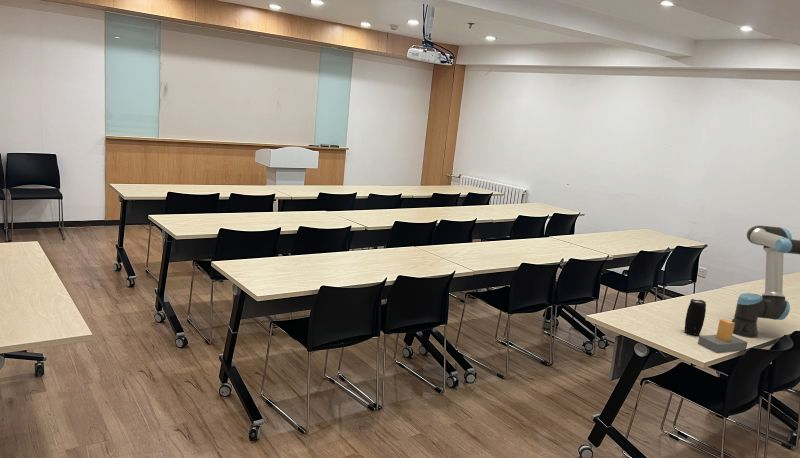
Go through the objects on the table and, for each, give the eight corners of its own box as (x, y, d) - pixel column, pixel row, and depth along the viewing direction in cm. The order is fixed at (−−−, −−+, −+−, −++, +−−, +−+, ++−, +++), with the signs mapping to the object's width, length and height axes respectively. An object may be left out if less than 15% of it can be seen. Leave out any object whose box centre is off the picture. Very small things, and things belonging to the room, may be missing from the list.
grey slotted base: (697, 343, 321) (699, 335, 320) (726, 341, 329) (728, 333, 329) (716, 352, 310) (718, 344, 309) (745, 350, 319) (747, 342, 318)
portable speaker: (699, 337, 331) (705, 304, 327) (681, 332, 336) (687, 300, 332) (702, 334, 337) (709, 301, 333) (684, 329, 343) (691, 297, 339)
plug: (714, 343, 322) (719, 319, 319) (719, 343, 323) (725, 319, 320) (724, 348, 316) (729, 323, 313) (729, 347, 318) (734, 323, 315)
